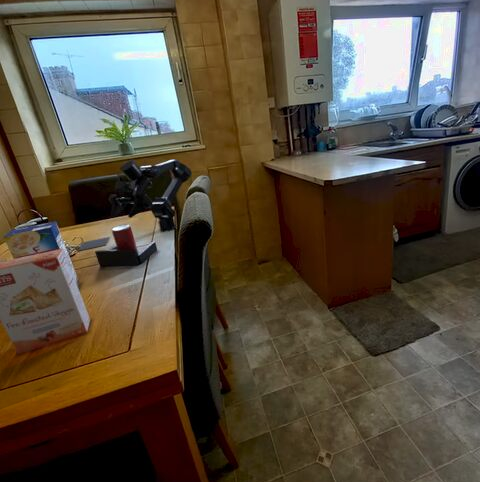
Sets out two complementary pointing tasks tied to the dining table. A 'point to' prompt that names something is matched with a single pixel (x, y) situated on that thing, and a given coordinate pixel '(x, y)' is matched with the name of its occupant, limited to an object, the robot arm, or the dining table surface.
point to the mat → (93, 244)
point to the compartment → (124, 256)
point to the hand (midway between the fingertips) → (120, 217)
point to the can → (124, 237)
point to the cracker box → (40, 301)
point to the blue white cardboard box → (37, 242)
